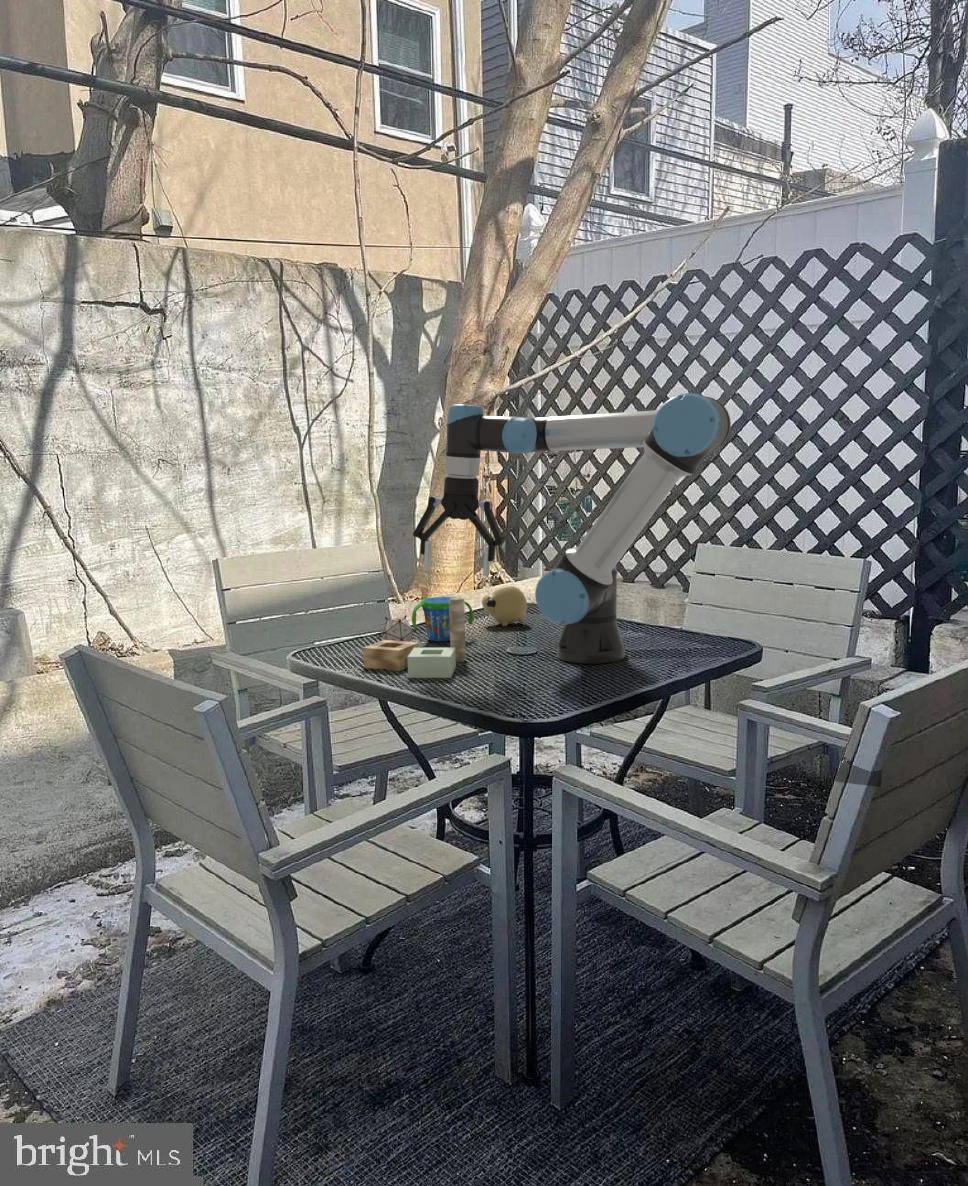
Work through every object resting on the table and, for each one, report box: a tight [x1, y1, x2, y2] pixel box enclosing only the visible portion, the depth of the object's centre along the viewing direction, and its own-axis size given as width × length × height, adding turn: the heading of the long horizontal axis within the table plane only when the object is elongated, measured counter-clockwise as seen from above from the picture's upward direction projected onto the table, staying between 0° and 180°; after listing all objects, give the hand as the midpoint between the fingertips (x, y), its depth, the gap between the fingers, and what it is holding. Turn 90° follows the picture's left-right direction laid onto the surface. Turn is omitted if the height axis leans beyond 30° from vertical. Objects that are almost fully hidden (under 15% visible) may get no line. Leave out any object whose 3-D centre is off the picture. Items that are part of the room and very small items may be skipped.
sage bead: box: [407, 647, 457, 679], centre depth 197 cm, size 9×9×4 cm
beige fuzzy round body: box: [481, 585, 528, 627], centre depth 249 cm, size 10×12×11 cm
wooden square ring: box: [362, 639, 420, 672], centre depth 205 cm, size 9×9×4 cm
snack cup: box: [411, 596, 474, 643], centre depth 231 cm, size 16×10×10 cm
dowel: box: [449, 597, 467, 663], centre depth 207 cm, size 3×3×14 cm
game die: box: [378, 615, 418, 642], centre depth 221 cm, size 9×8×10 cm
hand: (456, 572), depth 205 cm, fingers open, 13 cm apart
